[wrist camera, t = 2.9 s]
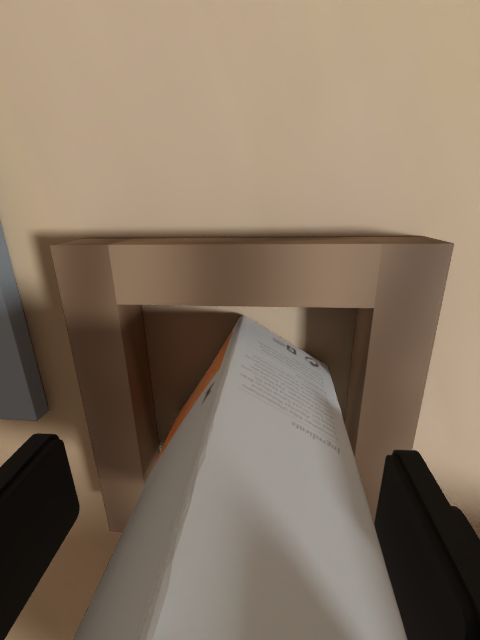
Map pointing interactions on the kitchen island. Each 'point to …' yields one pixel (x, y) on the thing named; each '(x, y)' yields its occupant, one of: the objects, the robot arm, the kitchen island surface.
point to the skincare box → (250, 515)
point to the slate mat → (16, 352)
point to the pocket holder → (248, 290)
